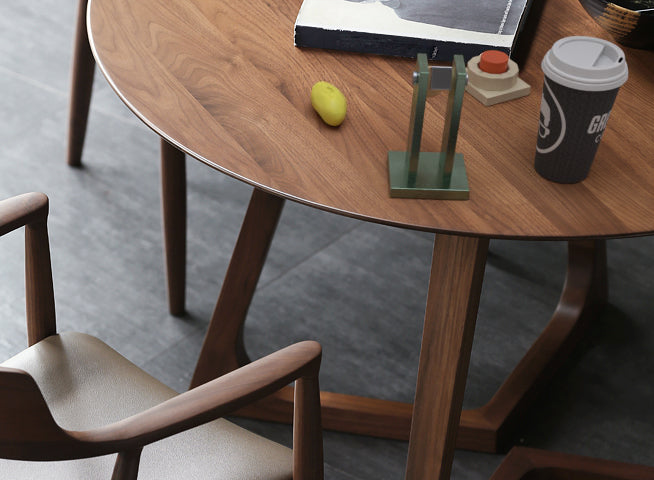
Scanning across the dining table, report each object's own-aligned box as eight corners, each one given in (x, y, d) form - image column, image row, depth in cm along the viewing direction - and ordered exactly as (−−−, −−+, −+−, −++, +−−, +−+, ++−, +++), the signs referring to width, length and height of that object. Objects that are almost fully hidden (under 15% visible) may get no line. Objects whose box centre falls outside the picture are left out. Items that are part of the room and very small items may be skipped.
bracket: (386, 159, 129) (398, 44, 119) (461, 162, 129) (479, 47, 119) (389, 197, 124) (402, 80, 114) (468, 200, 124) (487, 83, 114)
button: (512, 72, 141) (514, 59, 140) (489, 77, 140) (491, 65, 138) (495, 60, 143) (497, 48, 142) (473, 65, 142) (475, 53, 141)
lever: (411, 97, 129) (413, 66, 128) (442, 98, 129) (443, 67, 128) (423, 94, 117) (425, 60, 116) (457, 95, 117) (459, 61, 116)
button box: (529, 94, 142) (533, 73, 140) (486, 106, 139) (489, 85, 137) (493, 68, 147) (496, 47, 145) (450, 79, 144) (453, 58, 142)
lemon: (319, 133, 134) (320, 104, 131) (305, 100, 139) (306, 73, 137) (352, 130, 134) (354, 102, 132) (337, 98, 140) (338, 70, 137)
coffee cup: (568, 200, 124) (597, 82, 114) (504, 165, 129) (526, 49, 119) (618, 171, 129) (650, 55, 118) (554, 138, 134) (580, 24, 124)
